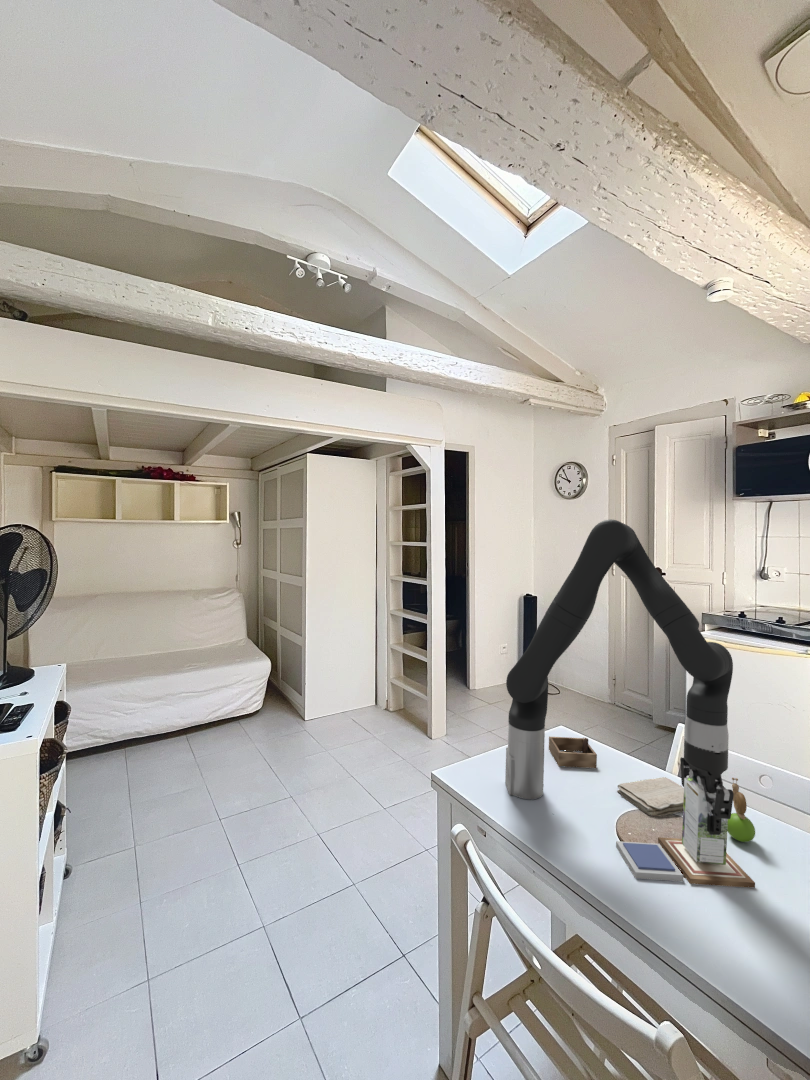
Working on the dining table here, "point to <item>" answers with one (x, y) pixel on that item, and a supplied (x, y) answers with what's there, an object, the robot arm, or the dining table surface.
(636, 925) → the dining table surface
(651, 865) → the ink pad
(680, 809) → the washcloth
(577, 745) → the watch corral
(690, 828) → the syrup box
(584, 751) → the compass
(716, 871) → the board
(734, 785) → the snail figurine
